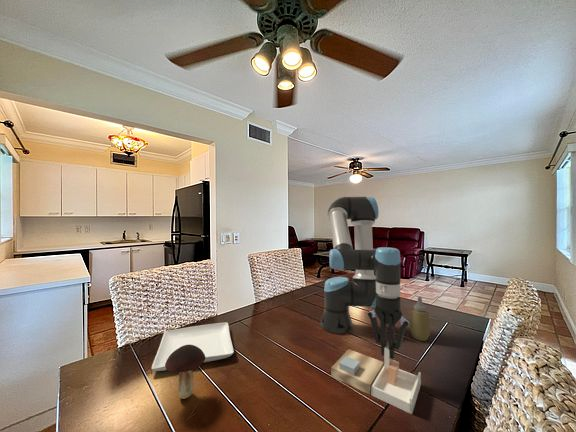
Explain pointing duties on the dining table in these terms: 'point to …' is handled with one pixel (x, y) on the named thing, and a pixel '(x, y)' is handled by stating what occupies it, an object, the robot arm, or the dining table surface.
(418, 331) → the squeeze bottle
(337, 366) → the beige flat block
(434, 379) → the dining table surface
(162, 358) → the square plate
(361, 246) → the robot arm
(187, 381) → the decorative mushroom
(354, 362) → the tile slate
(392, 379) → the tile terracotta
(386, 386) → the tray
